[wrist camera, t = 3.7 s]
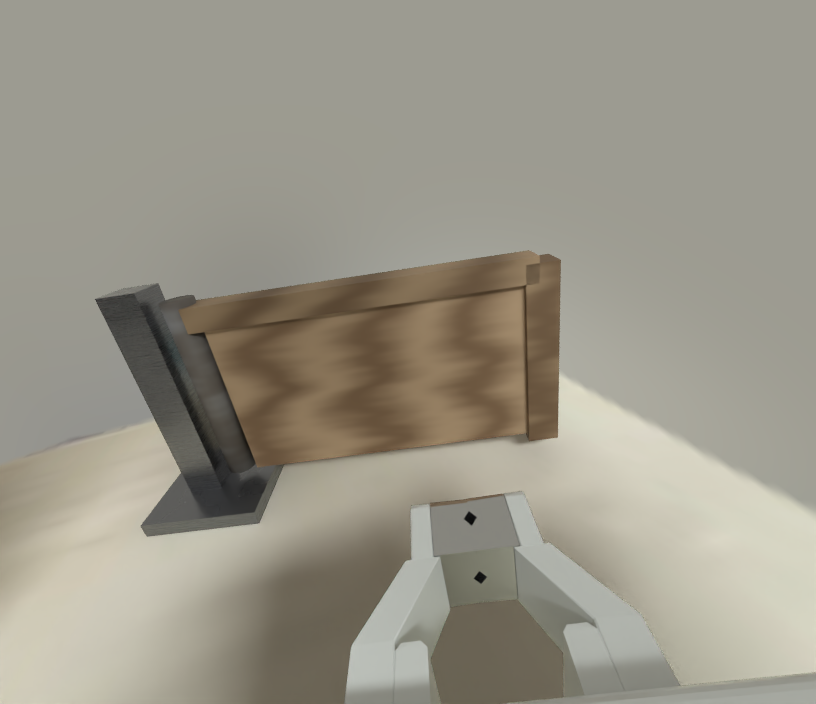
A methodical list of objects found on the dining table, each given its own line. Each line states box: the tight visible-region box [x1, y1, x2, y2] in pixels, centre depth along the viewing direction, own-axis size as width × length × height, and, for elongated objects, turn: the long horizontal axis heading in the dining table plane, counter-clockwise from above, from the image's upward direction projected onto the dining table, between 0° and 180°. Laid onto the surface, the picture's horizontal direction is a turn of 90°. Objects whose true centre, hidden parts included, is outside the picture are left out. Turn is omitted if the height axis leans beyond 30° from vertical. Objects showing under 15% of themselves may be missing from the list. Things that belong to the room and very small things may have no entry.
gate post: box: [95, 283, 284, 536], centre depth 27 cm, size 8×8×16 cm
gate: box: [158, 250, 561, 473], centre depth 26 cm, size 24×2×13 cm, turn 91°
